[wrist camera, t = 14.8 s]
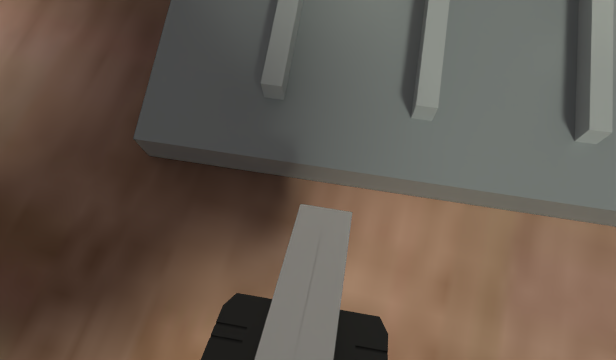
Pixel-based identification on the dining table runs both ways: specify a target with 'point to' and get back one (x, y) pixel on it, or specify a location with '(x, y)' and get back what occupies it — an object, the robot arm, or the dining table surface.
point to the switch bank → (397, 97)
